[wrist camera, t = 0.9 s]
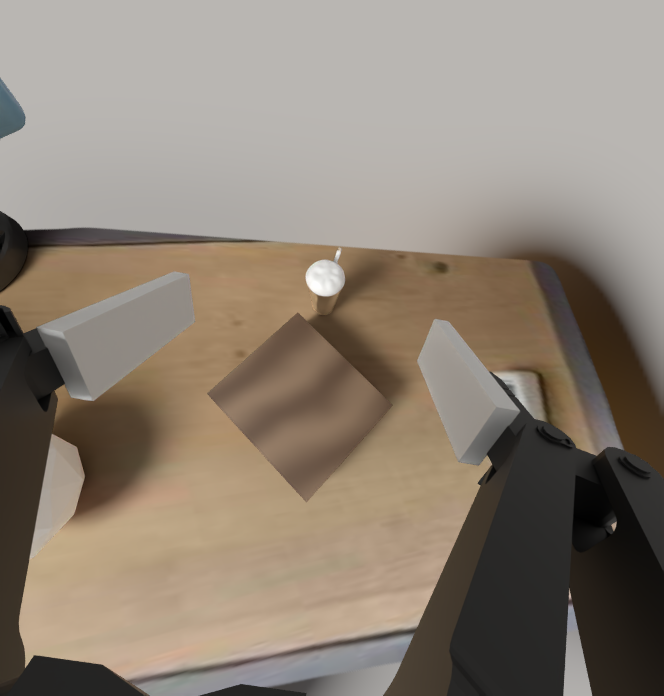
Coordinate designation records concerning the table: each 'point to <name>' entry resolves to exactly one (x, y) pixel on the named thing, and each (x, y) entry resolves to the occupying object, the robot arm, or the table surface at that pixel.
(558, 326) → the table surface
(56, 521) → the geodesic sphere
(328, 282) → the milkshake
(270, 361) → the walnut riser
